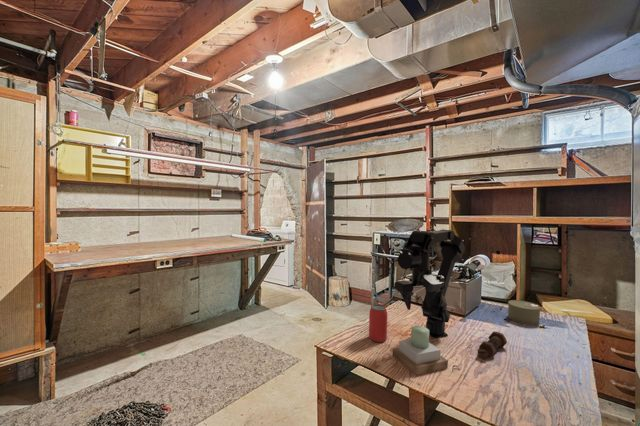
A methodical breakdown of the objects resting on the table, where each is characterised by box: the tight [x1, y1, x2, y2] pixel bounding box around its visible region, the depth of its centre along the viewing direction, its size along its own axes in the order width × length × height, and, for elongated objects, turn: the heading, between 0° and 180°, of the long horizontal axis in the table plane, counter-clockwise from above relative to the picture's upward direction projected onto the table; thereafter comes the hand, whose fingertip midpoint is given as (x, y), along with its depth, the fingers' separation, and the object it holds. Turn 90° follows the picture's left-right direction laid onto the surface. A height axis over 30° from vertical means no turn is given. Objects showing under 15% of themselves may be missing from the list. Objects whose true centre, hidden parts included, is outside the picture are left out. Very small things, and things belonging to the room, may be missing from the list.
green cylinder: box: [410, 325, 430, 349], centre depth 94 cm, size 6×6×5 cm
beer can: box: [368, 304, 388, 343], centre depth 109 cm, size 7×7×12 cm
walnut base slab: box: [392, 346, 449, 376], centre depth 94 cm, size 12×12×3 cm
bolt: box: [477, 330, 508, 359], centre depth 101 cm, size 6×5×15 cm
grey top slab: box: [398, 338, 441, 364], centre depth 94 cm, size 9×9×3 cm
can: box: [507, 299, 541, 326], centre depth 131 cm, size 12×12×7 cm
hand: (419, 308), depth 106 cm, fingers open, 9 cm apart
